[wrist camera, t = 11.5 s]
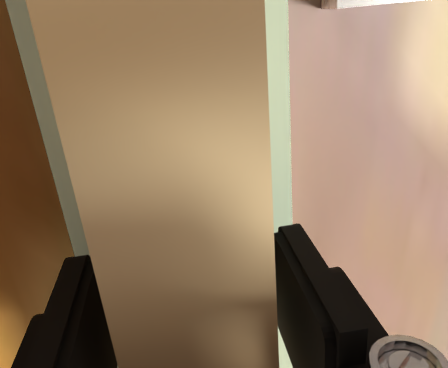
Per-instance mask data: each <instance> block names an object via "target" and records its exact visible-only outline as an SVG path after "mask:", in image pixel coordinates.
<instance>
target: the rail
mask: <svg viewBox="0 0 448 368" xmlns="http://www.w3.org/2000/svg"><path fill="white" fill-rule="evenodd" d="M26 4H27V8H28V12H29V16H30V20H31V24H32V28H33V32H34V36H35V40H36V44H37V48H38V52H39V56H40V60H41V64H42V68H43V72H44V75H45V79H46V83H47V87H48V91H49V95H50V99H51V103H52V107H53V111H54V115H55V119H56V123H57V127H58V131H59V135H60V139H61V143H62V147H63V151H64V155H65V159H66V162H67V166H68V170H69V174H70V178H71V182H72V186H73V190H74V194H75V198H76V202H77V206H78V210H79V214H80V218H81V222H82V226H83V230H84V234H85V238H86V242H87V246H88V249H89V253H90V257H91V261H92V265H93V269H94V273H95V277H96V281H97V285H98V289H99V293H100V297H101V301H102V305H103V309H104V313H105V317H106V321H107V325H108V329H109V333H110V336H111V340H112V344H113V348H114V352H115V356H116V360H117V364H118V368H279V347H278V322H277V297H276V272H275V247H274V222H273V197H272V172H271V147H270V122H269V97H268V72H267V47H266V22H265V0H26Z"/></svg>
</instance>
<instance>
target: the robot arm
mask: <svg viewBox="0 0 448 368" xmlns="http://www.w3.org/2000/svg"><path fill="white" fill-rule="evenodd" d="M274 247H275V272H276V297H277V322H278V329H279V331H280V334H281V337H282V339H283V342H284V345H285V347H286V350H287V353H288V355H289V358H290V361H291V364H292V366H293V368H448V361H447V359H446V358H445V357H444V355H443V354H442V353H441V352H440V351H439V350H437V349H436V348H435V347H434V346H432V345H430V344H429V343H427V342H425V341H423V340H421V339H418V338H414V337H411V336H405V335H391V336H389V335H388V334H387V332H386V331H385V329H384V328H383V327H382V325H381V324H380V322H379V321H378V320H377V318H376V317H375V315H374V314H373V312H372V311H371V310H370V308H369V307H368V305H367V304H366V302H365V301H364V300H363V298H362V297H361V295H360V294H359V292H358V291H357V290H356V288H355V287H354V285H353V284H352V283H351V281H350V280H349V278H348V277H347V275H346V274H345V273H344V271H343V270H342V269H341V268H340V267H333V268H329V267H328V266H327V264H326V263H325V261H324V260H323V258H322V257H321V255H320V254H319V252H318V250H317V249H316V247H315V246H314V244H313V243H312V241H311V240H310V238H309V237H308V235H307V234H306V232H305V231H304V229H303V228H302V226H301V225H300V224H293V225H286V226H280V227H279V228H278V232H276V233H274ZM117 365H118V364H117V360H116V356H115V352H114V348H113V344H112V340H111V336H110V333H109V329H108V325H107V321H106V317H105V313H104V309H103V305H102V301H101V297H100V293H99V289H98V285H97V281H96V277H95V273H94V269H93V265H92V261H91V257H90V256H89V255H82V256H75V257H69V258H66V259H65V260H64V263H63V265H62V268H61V270H60V273H59V276H58V278H57V281H56V283H55V286H54V288H53V291H52V294H51V296H50V299H49V301H48V304H47V307H46V309H45V312H44V314H37V315H35V316H34V317H33V318H32V320H31V321H30V324H29V326H28V328H27V331H26V333H25V336H24V338H23V340H22V343H21V345H20V348H19V350H18V352H17V355H16V357H15V359H14V362H13V364H12V367H11V368H117Z"/></svg>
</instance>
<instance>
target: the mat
mask: <svg viewBox="0 0 448 368" xmlns="http://www.w3.org/2000/svg"><path fill="white" fill-rule="evenodd" d="M5 2H6V5H7V9H8V13H9V16H10V20H11V24H12V27H13V31H14V35H15V39H16V42H17V46H18V50H19V53H20V57H21V61H22V64H23V68H24V72H25V75H26V79H27V83H28V86H29V90H30V94H31V97H32V101H33V105H34V108H35V112H36V116H37V119H38V123H39V127H40V130H41V134H42V138H43V141H44V145H45V149H46V152H47V156H48V160H49V163H50V167H51V171H52V174H53V178H54V182H55V185H56V189H57V193H58V197H59V200H60V204H61V208H62V211H63V215H64V219H65V222H66V226H67V230H68V233H69V237H70V241H71V244H72V248H73V252H74V255H75V256H82V255H89V256H90V253H89V249H88V246H87V242H86V238H85V234H84V230H83V226H82V222H81V218H80V214H79V210H78V206H77V202H76V198H75V194H74V190H73V186H72V182H71V178H70V174H69V170H68V166H67V162H66V159H65V155H64V151H63V147H62V143H61V139H60V135H59V131H58V127H57V123H56V119H55V115H54V111H53V107H52V103H51V99H50V95H49V91H48V87H47V83H46V79H45V75H44V72H43V68H42V64H41V60H40V56H39V52H38V48H37V44H36V40H35V36H34V32H33V28H32V24H31V20H30V16H29V12H28V8H27V4H26V0H5ZM265 22H266V47H267V72H268V97H269V122H270V147H271V172H272V197H273V222H274V233H276V232H278V228H279V227H280V226H286V225H292V178H291V128H290V79H289V30H288V0H265ZM278 347H279V368H293V366H292V364H291V361H290V358H289V355H288V353H287V350H286V347H285V345H284V342H283V339H282V337H281V334H280V331H279V329H278ZM117 368H118V365H117Z"/></svg>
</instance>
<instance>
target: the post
mask: <svg viewBox="0 0 448 368" xmlns="http://www.w3.org/2000/svg"><path fill="white" fill-rule="evenodd" d="M412 1H422V0H321V9H339V8H349V7H360V6H370V5H381V4H391V3H401V2H412Z"/></svg>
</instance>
